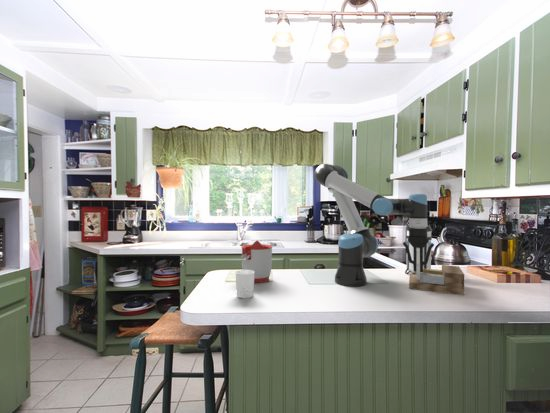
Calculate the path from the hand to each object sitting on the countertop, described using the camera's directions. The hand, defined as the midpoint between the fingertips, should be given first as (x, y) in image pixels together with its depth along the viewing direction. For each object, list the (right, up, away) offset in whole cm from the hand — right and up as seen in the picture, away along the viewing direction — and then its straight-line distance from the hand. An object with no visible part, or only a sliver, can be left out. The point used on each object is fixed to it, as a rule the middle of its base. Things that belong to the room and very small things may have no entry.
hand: (418, 278), depth 128 cm
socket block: (+9, -4, +2) cm, 10 cm away
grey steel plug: (+6, -1, -3) cm, 6 cm away
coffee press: (+14, -4, +28) cm, 31 cm away
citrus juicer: (-76, -4, +12) cm, 77 cm away
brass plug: (+10, -1, +7) cm, 13 cm away
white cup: (-78, -4, -12) cm, 79 cm away
